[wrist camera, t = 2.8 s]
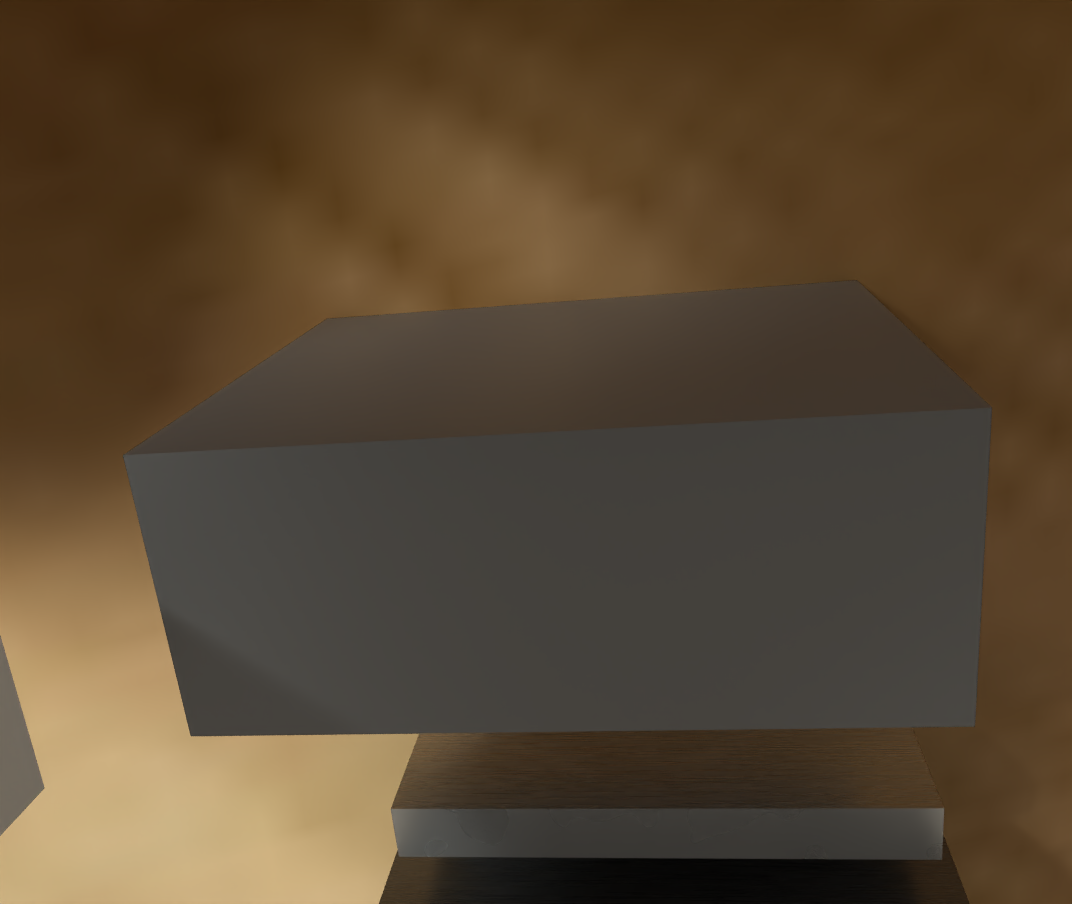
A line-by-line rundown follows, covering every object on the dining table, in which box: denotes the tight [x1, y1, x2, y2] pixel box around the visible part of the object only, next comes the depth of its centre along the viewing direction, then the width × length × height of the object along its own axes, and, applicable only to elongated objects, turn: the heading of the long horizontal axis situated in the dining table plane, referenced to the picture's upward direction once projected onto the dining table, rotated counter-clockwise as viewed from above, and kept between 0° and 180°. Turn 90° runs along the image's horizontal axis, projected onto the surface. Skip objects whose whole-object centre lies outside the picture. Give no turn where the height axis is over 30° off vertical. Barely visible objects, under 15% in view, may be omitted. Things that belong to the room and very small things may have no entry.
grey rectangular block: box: [123, 280, 992, 736], centre depth 16 cm, size 4×10×8 cm, turn 96°
